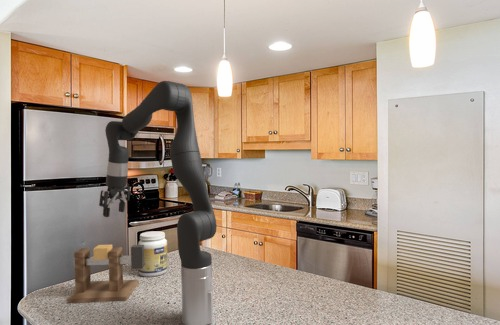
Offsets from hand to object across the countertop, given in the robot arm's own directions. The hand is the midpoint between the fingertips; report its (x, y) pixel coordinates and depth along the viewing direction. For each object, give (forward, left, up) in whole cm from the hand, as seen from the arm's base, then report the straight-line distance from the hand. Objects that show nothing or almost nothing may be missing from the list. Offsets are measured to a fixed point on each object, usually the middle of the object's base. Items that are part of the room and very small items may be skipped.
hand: (114, 214), depth 130 cm
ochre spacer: (+2, +7, -15) cm, 16 cm away
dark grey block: (0, +7, -19) cm, 20 cm away
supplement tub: (-12, -13, -28) cm, 33 cm away
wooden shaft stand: (+2, +7, -28) cm, 29 cm away
